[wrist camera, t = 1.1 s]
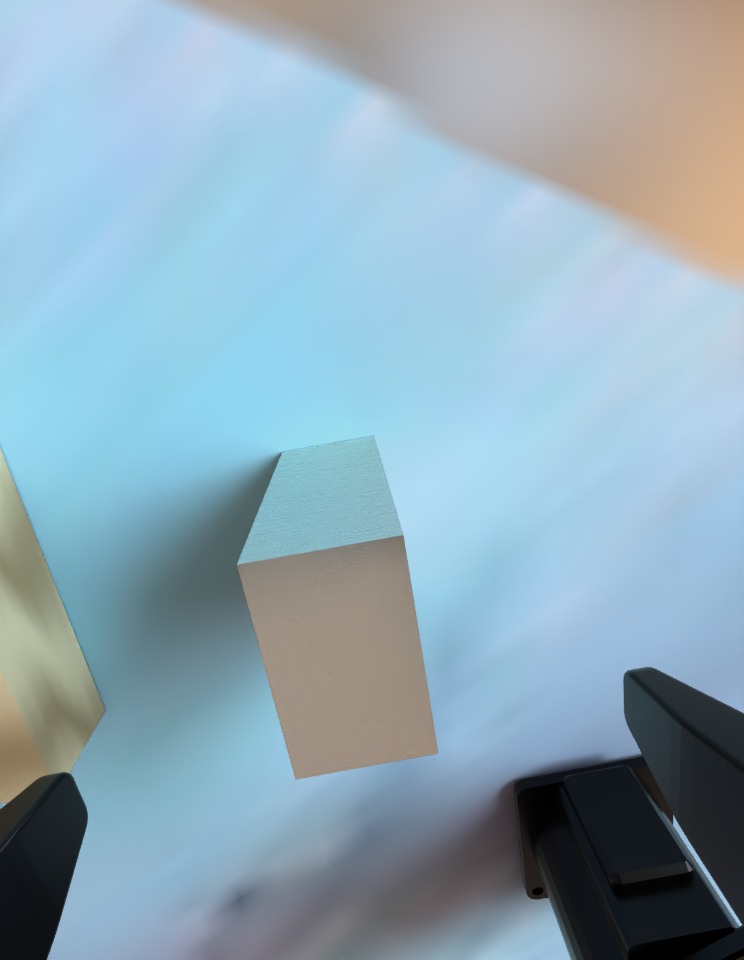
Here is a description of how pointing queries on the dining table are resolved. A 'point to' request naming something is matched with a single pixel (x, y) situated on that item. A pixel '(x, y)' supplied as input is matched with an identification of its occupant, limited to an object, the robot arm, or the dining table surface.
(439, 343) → the dining table surface
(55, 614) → the well block
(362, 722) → the tall grey box
